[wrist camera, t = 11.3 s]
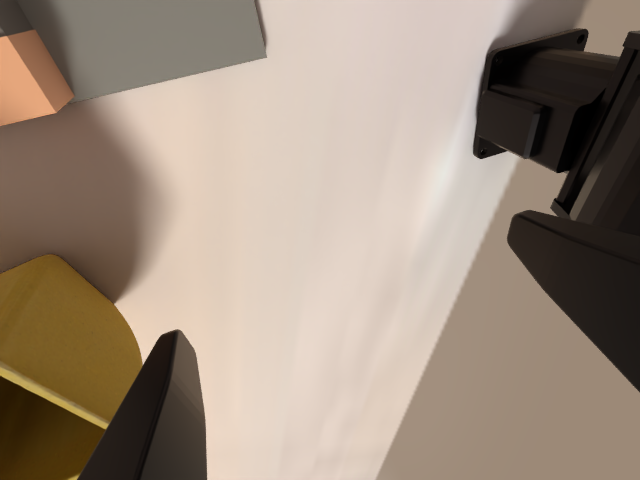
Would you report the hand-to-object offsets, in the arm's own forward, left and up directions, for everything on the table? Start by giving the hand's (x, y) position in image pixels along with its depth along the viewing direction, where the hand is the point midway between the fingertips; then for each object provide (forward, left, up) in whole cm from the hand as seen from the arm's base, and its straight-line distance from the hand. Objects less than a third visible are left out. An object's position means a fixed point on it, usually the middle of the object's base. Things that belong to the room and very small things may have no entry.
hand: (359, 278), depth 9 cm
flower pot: (+15, +6, -12) cm, 20 cm away
